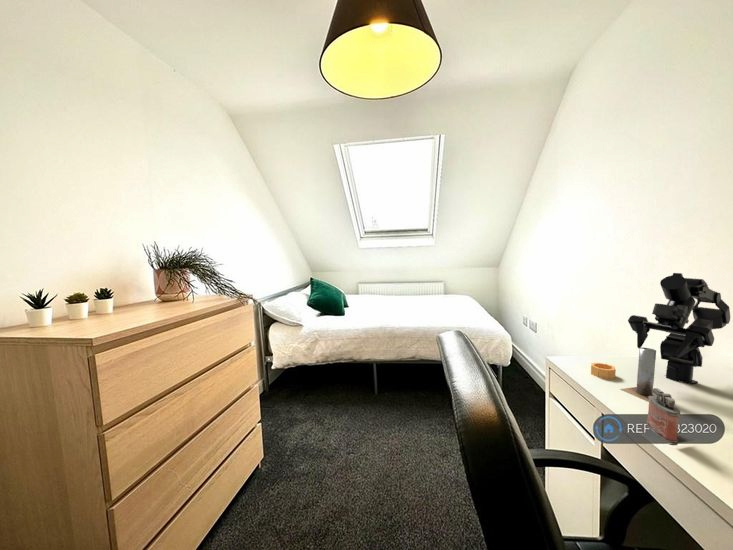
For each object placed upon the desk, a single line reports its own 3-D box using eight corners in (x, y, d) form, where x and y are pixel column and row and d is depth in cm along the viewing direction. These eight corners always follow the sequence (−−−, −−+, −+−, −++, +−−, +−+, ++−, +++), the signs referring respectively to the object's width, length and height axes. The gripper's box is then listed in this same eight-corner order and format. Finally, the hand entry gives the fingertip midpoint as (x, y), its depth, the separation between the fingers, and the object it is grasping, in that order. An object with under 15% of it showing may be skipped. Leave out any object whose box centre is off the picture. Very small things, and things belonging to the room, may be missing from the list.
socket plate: (601, 370, 114) (601, 360, 114) (626, 381, 106) (627, 370, 105) (579, 372, 112) (580, 362, 112) (603, 383, 104) (604, 372, 103)
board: (640, 388, 100) (641, 386, 100) (670, 401, 92) (670, 398, 92) (619, 391, 98) (619, 389, 98) (647, 404, 90) (647, 401, 90)
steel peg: (642, 390, 97) (646, 347, 96) (655, 395, 94) (659, 351, 93) (632, 391, 96) (636, 348, 95) (645, 397, 93) (649, 352, 92)
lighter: (682, 446, 72) (686, 402, 71) (664, 444, 73) (668, 400, 72) (658, 426, 80) (661, 386, 79) (641, 424, 80) (645, 385, 79)
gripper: (633, 290, 106) (612, 328, 102) (714, 298, 89) (693, 344, 85) (643, 311, 110) (623, 349, 106) (722, 323, 94) (702, 368, 90)
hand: (657, 351), depth 97 cm, fingers open, 9 cm apart
